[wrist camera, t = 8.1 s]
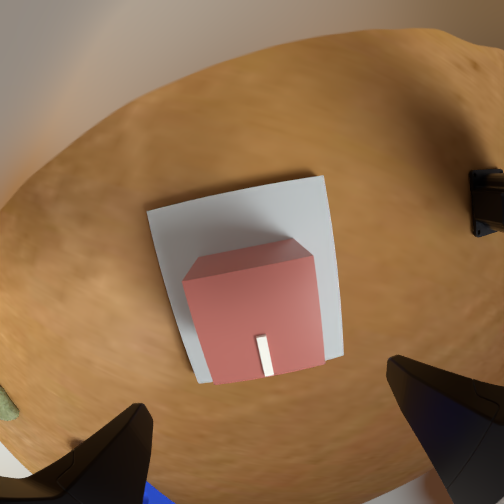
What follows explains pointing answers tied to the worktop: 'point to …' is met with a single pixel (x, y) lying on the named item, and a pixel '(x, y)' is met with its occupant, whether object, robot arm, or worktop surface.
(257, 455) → the worktop surface
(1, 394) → the washcloth
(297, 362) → the pink slotted box
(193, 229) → the peg base plate
